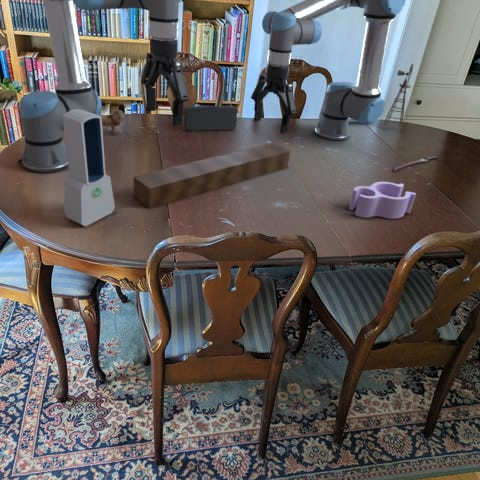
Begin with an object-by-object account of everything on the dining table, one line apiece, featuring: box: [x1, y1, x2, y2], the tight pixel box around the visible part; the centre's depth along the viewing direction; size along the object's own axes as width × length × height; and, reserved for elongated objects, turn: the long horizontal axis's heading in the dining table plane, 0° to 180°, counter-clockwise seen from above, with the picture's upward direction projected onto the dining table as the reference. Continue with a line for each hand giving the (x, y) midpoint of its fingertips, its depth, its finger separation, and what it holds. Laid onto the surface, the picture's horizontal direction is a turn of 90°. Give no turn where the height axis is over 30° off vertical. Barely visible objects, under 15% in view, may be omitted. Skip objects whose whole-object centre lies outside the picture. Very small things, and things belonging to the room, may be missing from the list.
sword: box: [393, 155, 441, 172], centre depth 190 cm, size 31×3×1 cm, turn 126°
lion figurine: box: [102, 109, 125, 135], centre depth 186 cm, size 15×5×9 cm, turn 110°
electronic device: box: [63, 109, 116, 227], centre depth 126 cm, size 12×8×30 cm, turn 148°
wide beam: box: [133, 142, 291, 209], centre depth 159 cm, size 60×9×7 cm, turn 131°
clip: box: [348, 181, 417, 220], centre depth 152 cm, size 20×12×7 cm, turn 109°
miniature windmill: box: [383, 63, 414, 132], centre depth 220 cm, size 9×8×30 cm
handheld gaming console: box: [183, 105, 239, 132], centre depth 200 cm, size 23×3×10 cm, turn 108°
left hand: (164, 117), depth 134 cm, fingers open, 13 cm apart
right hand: (270, 126), depth 166 cm, fingers open, 13 cm apart
